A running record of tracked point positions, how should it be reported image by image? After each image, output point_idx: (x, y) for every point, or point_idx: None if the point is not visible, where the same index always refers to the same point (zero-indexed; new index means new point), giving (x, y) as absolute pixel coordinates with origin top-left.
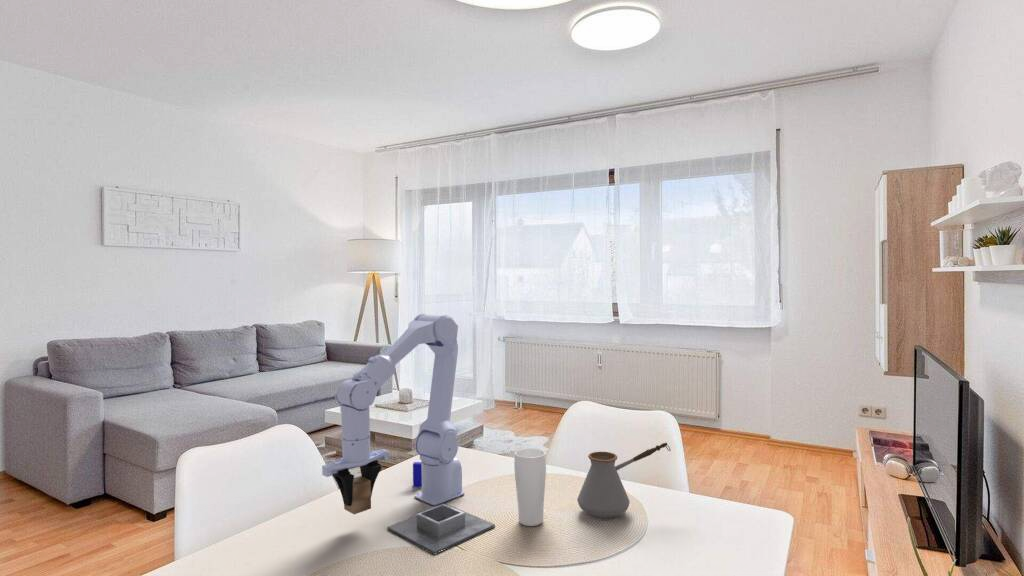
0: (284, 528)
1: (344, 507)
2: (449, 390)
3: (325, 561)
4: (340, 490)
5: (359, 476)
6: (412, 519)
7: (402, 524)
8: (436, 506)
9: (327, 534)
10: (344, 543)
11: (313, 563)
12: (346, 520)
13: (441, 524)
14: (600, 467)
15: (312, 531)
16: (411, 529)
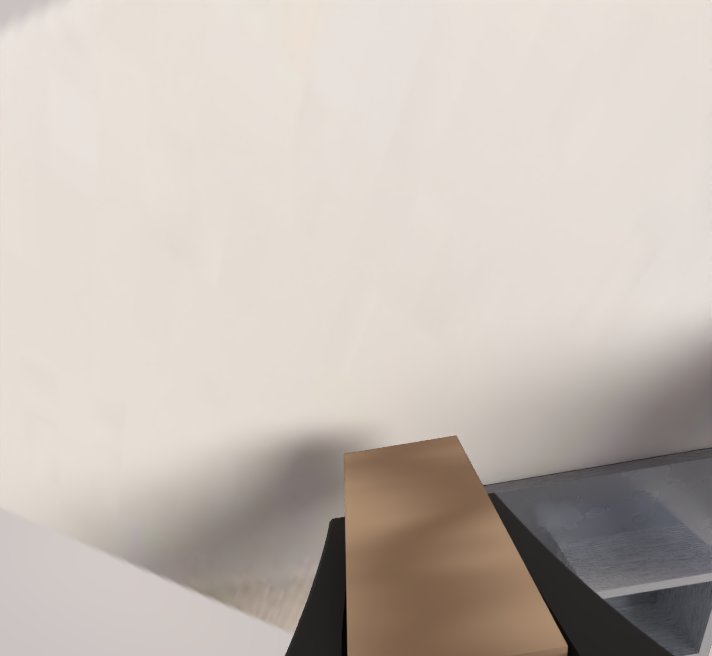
0: (75, 200)
1: (344, 465)
2: None
3: (209, 567)
4: (303, 616)
5: (550, 652)
6: (584, 493)
7: (530, 508)
8: (694, 577)
9: (264, 397)
10: (300, 498)
11: (171, 561)
12: (384, 311)
13: None
14: None
15: (210, 330)
16: None
